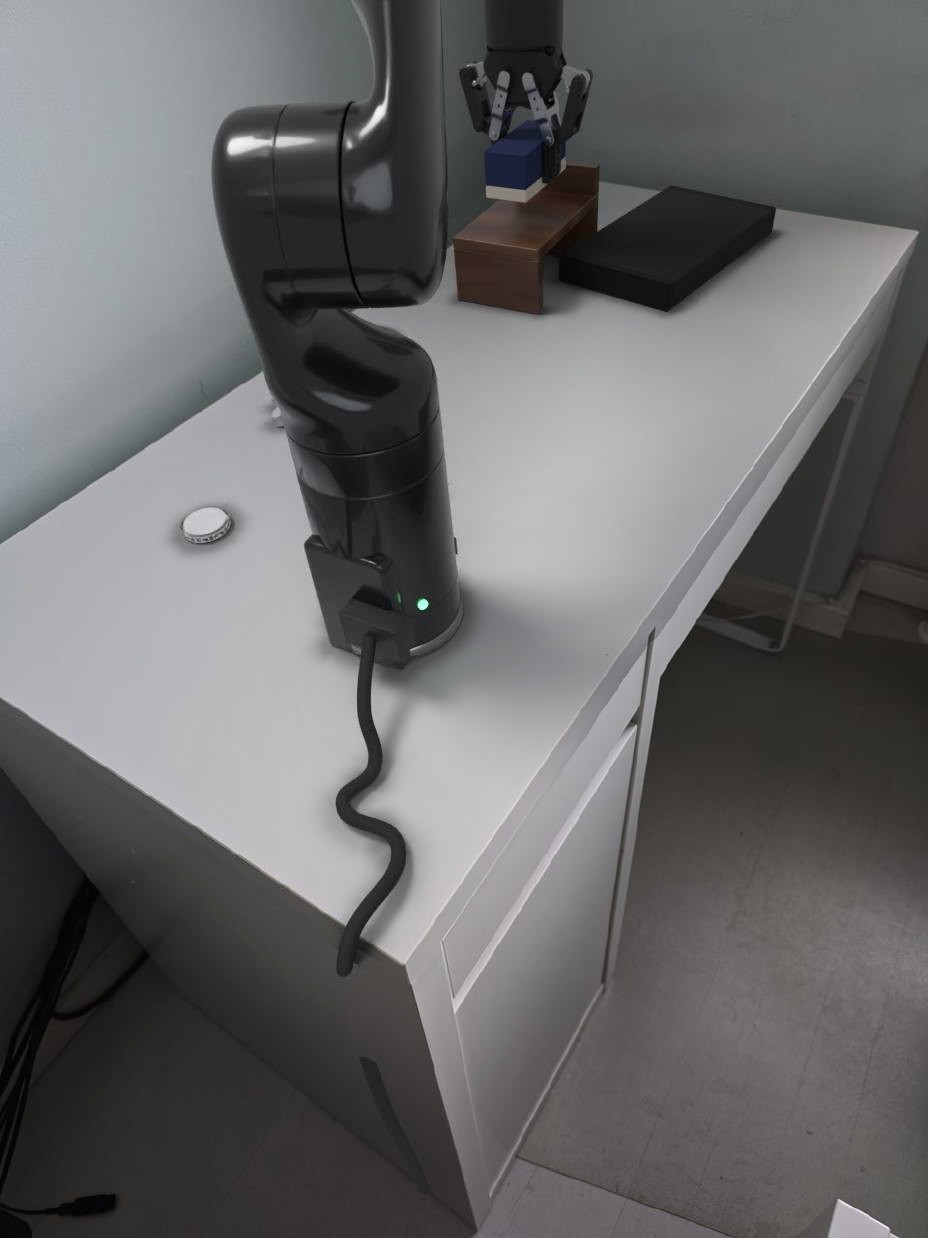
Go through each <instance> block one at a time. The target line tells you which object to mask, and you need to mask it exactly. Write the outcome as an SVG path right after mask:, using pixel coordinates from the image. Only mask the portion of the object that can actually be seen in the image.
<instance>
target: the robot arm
mask: <svg viewBox="0 0 928 1238" xmlns="http://www.w3.org/2000/svg"><path fill="white" fill-rule="evenodd" d="M350 2H351V4H352V6H353V8H354V10H355V13H356V15H357V17H358V19H359V21H360V23H361V26H362V28H363V31H364V33H365V35H366V39H367V41H368V45H369V49H370V52H371V61H372V69H373V80H372V81H373V84H372V89H371V92H370V95H369V96H368V98H366V99H363V100H362V99H356V100H354V99H353V100H336V101H318V102H317V101H316V102H296V103H278V104H277V103H276V104H260V105H252V106H246V107H245V106H244V107H241V108H238V109H235V110H234V111H232V112H230V113H229V114H228V115H226V116H225V118H224V119H223V121H222V122H221V123H220V125H219V127H218V128H217V132H216V134H215V137H214V140H213V144H212V150H211V164H210V178H211V179H210V180H211V190H212V202H213V208H214V214H215V219H216V222H217V227H218V232H219V237H220V241H221V245H222V248H223V251H224V254H225V258H226V262H227V265H228V269H229V271H230V274H231V278H232V280H233V283H234V286H235V289H236V292H237V295H238V298H239V301H240V304H241V307H242V310H243V313H244V316H245V319H246V322H247V325H248V328H249V331H250V334H251V337H252V340H253V341H252V342H253V344H254V347H255V350H256V352H257V356H258V359H259V363H260V366H261V370H262V373H263V377H264V380H265V383H266V386H267V388H268V391H269V394H270V395H271V396H272V398H273V400H274V401H275V403H276V405H277V406H278V408H279V410H280V413H281V417H282V421H283V424H284V426H283V428H284V432H285V435H286V440H287V443H288V446H289V450H290V454H291V458H292V461H293V465H294V466H293V467H294V470H295V474H296V478H297V481H298V486H299V490H300V494H301V497H302V501H303V505H304V508H305V511H306V516H307V520H308V524H309V528H310V532H311V534H310V536H309V537H308V538H307V539H306V540H305V541H304V542H303V549H304V553H305V556H306V560H307V564H308V568H309V573H310V575H311V578H312V582H313V585H314V589H315V593H316V597H317V600H318V604H319V608H320V612H321V615H322V619H323V623H324V626H325V630H326V634H327V637H328V641H329V644H330V645H332V646H335V647H338V648H341V649H343V650H346V651H348V652H351V653H353V654H356V655H358V656H359V666H358V673H357V682H356V683H357V684H356V687H357V688H356V713H357V714H356V715H357V720H358V725H359V728H360V731H361V734H362V736H363V737H362V738H363V739H364V742H365V746H366V749H367V757H368V759H367V765H366V768H365V770H363V771H362V773H360V774H359V775H358V776H357V777H355V778H354V779H352V780H350V781H349V782H347V783H346V784H344V785H343V786H342V788H340V790H339V791H338V792H337V794H336V797H335V810H336V813H337V815H338V817H339V818H340V820H341V821H342V822H344V823H345V824H346V825H347V826H350V827H352V828H355V829H357V830H359V831H363V832H366V833H370V834H372V835H375V836H378V837H380V838H382V839H383V840H385V841H386V842H387V843H388V846H389V848H390V859H389V862H388V866H387V867H386V869H385V872H384V873H383V875H382V876H381V877H380V879H379V880H378V881H377V883H376V884H375V885H374V886H373V887H372V889H371V890H370V891H369V892H368V893H367V894H366V895H365V897H364V898H363V899H362V901H361V902H360V903H359V905H358V906H357V907H356V909H355V910H354V911H353V913H352V915H350V918H349V919H348V921H347V923H346V925H345V928H344V930H343V931H342V934H341V938H340V941H339V945H338V951H337V956H336V963H335V964H336V966H335V968H336V974H337V975H338V976H339V977H340V978H346V977H348V976H349V975H350V974H351V972H352V970H353V968H354V962H355V956H356V950H357V946H358V942H359V940H360V937H361V935H362V933H363V931H364V929H365V927H366V925H367V924H368V922H369V921H370V919H371V918H372V916H373V915H374V914H375V913H376V911H377V910H378V909H379V907H381V905H382V904H383V902H384V901H385V900H386V899H387V898H388V897H389V895H390V894H391V893H392V892H393V890H394V889H395V887H396V886H397V884H398V883H399V882H400V879H401V877H402V876H403V873H404V870H405V868H406V861H407V847H406V841H405V839H404V836H403V834H402V833H401V831H400V830H398V828H397V827H395V826H394V825H392V824H390V823H388V822H386V821H385V820H383V819H382V820H381V819H378V818H375V817H372V816H369V815H366V814H363V813H360V812H359V811H356V810H355V809H354V808H353V807H352V806H351V802H352V799H354V798H355V796H357V795H358V794H360V793H361V792H363V791H364V790H365V789H367V788H369V787H370V786H371V785H373V783H374V782H375V781H376V780H377V778H378V777H379V775H380V773H381V770H382V767H383V760H384V755H383V754H384V753H383V746H382V743H381V739H380V736H379V733H378V730H377V728H376V725H375V722H374V718H373V711H372V710H373V709H372V685H373V684H372V683H373V673H374V663H375V662H378V663H379V664H383V665H385V666H388V667H390V668H393V669H396V670H399V671H400V670H403V669H405V668H406V666H407V665H408V664H409V663H410V662H411V660H414V659H418V658H421V657H423V656H426V655H429V654H431V653H432V652H435V651H436V650H438V649H439V648H441V647H442V646H443V645H445V644H446V643H447V642H448V641H449V640H450V639H451V638H452V637H454V634H455V633H457V630H458V629H459V627H460V625H461V622H462V620H463V615H464V603H463V595H462V591H461V588H460V580H459V572H458V570H459V569H458V563H457V556H458V555H459V553H458V542H457V537H455V535H454V526H453V519H452V518H453V517H452V516H453V515H452V508H451V499H450V498H451V497H450V489H449V482H448V481H449V480H448V479H449V478H448V471H447V462H446V452H445V444H444V443H445V442H444V441H445V440H444V432H443V424H442V415H441V405H440V395H439V386H438V385H439V384H438V377H437V372H436V368H435V365H434V363H433V360H432V358H431V357H430V355H429V353H428V352H427V350H425V348H423V346H421V345H420V344H419V343H418V342H416V341H415V340H414V339H411V338H409V337H408V336H406V335H404V334H402V333H399V332H396V331H394V330H391V329H388V328H386V327H384V326H381V325H378V324H376V323H372V322H370V321H369V320H366V319H364V318H361V317H360V316H358V315H357V314H354V313H353V312H351V311H350V310H357V309H358V310H359V309H361V310H362V309H363V310H364V309H366V310H367V309H390V308H393V309H394V308H409V307H410V308H411V307H416V306H417V307H418V306H422V305H424V304H425V303H427V302H428V301H429V300H432V299H433V297H434V296H435V295H436V294H437V291H438V290H439V288H440V285H441V282H442V279H443V277H444V276H443V275H444V271H445V265H446V260H447V252H448V241H449V173H448V172H449V171H448V170H449V169H448V147H447V144H448V143H447V122H446V121H447V119H446V98H445V71H444V70H445V69H444V47H443V46H444V45H443V43H444V42H443V19H442V18H443V17H442V0H350ZM482 11H483V31H484V33H483V34H484V42H485V45H486V51H485V56H484V58H483V61H480V62H479V61H477V60H474V61H471V62H470V63H468V64H467V65H465V66H463V67H461V68H460V69H459V72H458V76H459V80H460V84H461V87H462V90H463V94H464V98H465V101H466V105H467V109H468V113H469V116H470V120H471V124H472V128H473V130H474V131H475V132H477V133H481V132H482V133H483V134H485V135H487V136H488V137H489V139H490V142H491V146H492V145H494V144H495V143H496V142H498V141H499V140H500V139H502V138H503V137H505V136H506V135H507V134H508V133H509V131H510V128H511V124H512V120H513V116H514V113H515V111H516V109H517V108H519V107H522V108H524V109H527V110H531V112H532V116H533V120H534V121H535V122H536V123H538V125H539V128H540V132H541V135H542V139H543V142H544V145H543V146H542V183H545V184H550V183H551V182H552V181H553V180H555V178H556V176H557V175H558V174H559V173H560V170H561V142H562V141H566V142H567V141H569V140H570V139H571V138H572V137H573V136H575V135H576V134H577V133H579V132H580V130H581V125H582V122H583V119H584V114H585V110H586V106H587V102H588V98H589V94H590V91H591V86H592V82H593V78H594V74H593V71H592V70H591V69H590V68H584V69H583V70H580V69H578V68H576V67H573V66H571V65H568V63H567V59H566V57H565V54H564V50H563V40H564V0H482ZM488 80H489V82H490V83H491V85H492V87H493V88H494V90H495V95H494V99H493V104H492V105H491V103H490V102H491V101H490V97H489V93H488V90H487V86H486V85H487V83H488ZM562 80H563V82H564V92H565V94H566V95H567V98H566V103H565V107H564V111H563V115H562V120H561V115H560V109H561V108H560V107H561V106H560V103H559V99H558V96H557V92H556V89H557V87H558V86H559V85H560V83H561V81H562ZM358 1058H359V1062H360V1064H361V1068H362V1071H363V1075H364V1077H365V1080H366V1084H367V1087H368V1089H369V1091H370V1094H371V1097H372V1099H373V1102H374V1104H375V1106H376V1109H377V1112H378V1113H379V1115H380V1118H381V1120H382V1122H383V1124H384V1127H385V1128H386V1130H387V1132H388V1134H389V1136H390V1138H391V1139H392V1141H393V1144H394V1145H395V1147H396V1149H397V1150H398V1152H399V1154H400V1155H401V1158H402V1159H403V1161H404V1163H405V1165H406V1166H407V1168H408V1171H409V1173H410V1174H411V1176H412V1178H413V1181H414V1182H415V1184H416V1185H415V1186H416V1187H417V1189H418V1191H419V1193H420V1194H421V1195H426V1194H428V1193H429V1191H430V1185H429V1182H428V1180H427V1177H426V1174H425V1172H424V1170H423V1168H422V1165H421V1164H420V1161H419V1159H418V1157H417V1155H416V1153H415V1152H414V1149H413V1147H412V1145H411V1143H410V1140H409V1139H408V1138H407V1137H408V1136H407V1135H406V1134H405V1131H404V1129H403V1127H402V1125H401V1123H400V1121H399V1119H398V1117H397V1114H396V1112H395V1110H394V1108H393V1105H392V1103H391V1100H390V1098H389V1095H388V1092H387V1090H386V1087H385V1084H384V1081H383V1077H382V1075H381V1071H380V1069H379V1065H378V1063H377V1062H375V1061H373V1060H372V1059H370V1058H368V1057H366V1056H358Z"/></svg>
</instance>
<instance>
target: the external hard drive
mask: <svg viewBox="0 0 928 1238" xmlns="http://www.w3.org/2000/svg"><path fill="white" fill-rule="evenodd" d="M776 213H777V208H776V206H772V205H766V204H763V203H757V202H752V201H748V200H743V199H738V198H734V197H728V196H725V195H719V194H714V193H710V192H705V191H701V190H695V189H691V188H686V187H681V186H676V185H669V186H667V187H666V188H664V189H662V190H661V191H659V192H658V193H656V194H655V195H652V196H651V197H650V198H648V199H647V200H645V201H644V202H642V203H641V204H639V205H637V206H635V207H634V208H632V209H631V210H629V211H627V212H626V213H625V214H623V215H622V216H620V217H618V218H617V219H615V220H613V221H612V222H610V223H608V224H607V225H605V226H604V227H603V228H601V229H599V230H597V232H596V233H594V234H593V235H591V236H590V237H588V238H586V239H585V240H583V241H582V242H580V243H578V244H577V245H575V246H574V247H572V248H571V249H569V250H567V251H566V252H564V253H563V254H562V253H560V254H559V255H558V280H559V281H560V282H563V283H564V284H565V283H566V284H568V285H569V284H570V285H573V286H576V287H579V288H583V289H586V290H590V291H593V292H596V293H600V294H603V295H607V296H610V297H614V298H617V299H620V300H624V301H627V302H631V303H634V304H637V305H641V306H644V307H648V308H651V309H655V310H658V311H662V312H665V313H667V312H669V311H670V310H672V309H673V308H674V307H675V306H677V305H678V304H679V303H681V302H682V301H683V300H685V299H686V298H688V297H689V296H690V295H692V294H693V293H695V291H697V290H698V289H699V288H700V287H702V286H703V285H704V284H706V283H707V282H708V281H710V280H711V279H712V278H713V277H715V276H716V275H718V274H719V273H720V272H721V271H723V270H724V269H725V268H726V267H728V266H729V265H731V264H732V263H734V262H735V261H736V260H737V259H738V258H740V257H741V256H743V255H744V254H745V253H747V252H748V251H749V250H750V249H752V248H753V247H754V246H755V245H757V244H758V243H760V242H761V241H762V240H763V239H765V238H767V236H768V235H770V234H771V233H772V232H773V228H774V224H775V217H776Z"/></svg>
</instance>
